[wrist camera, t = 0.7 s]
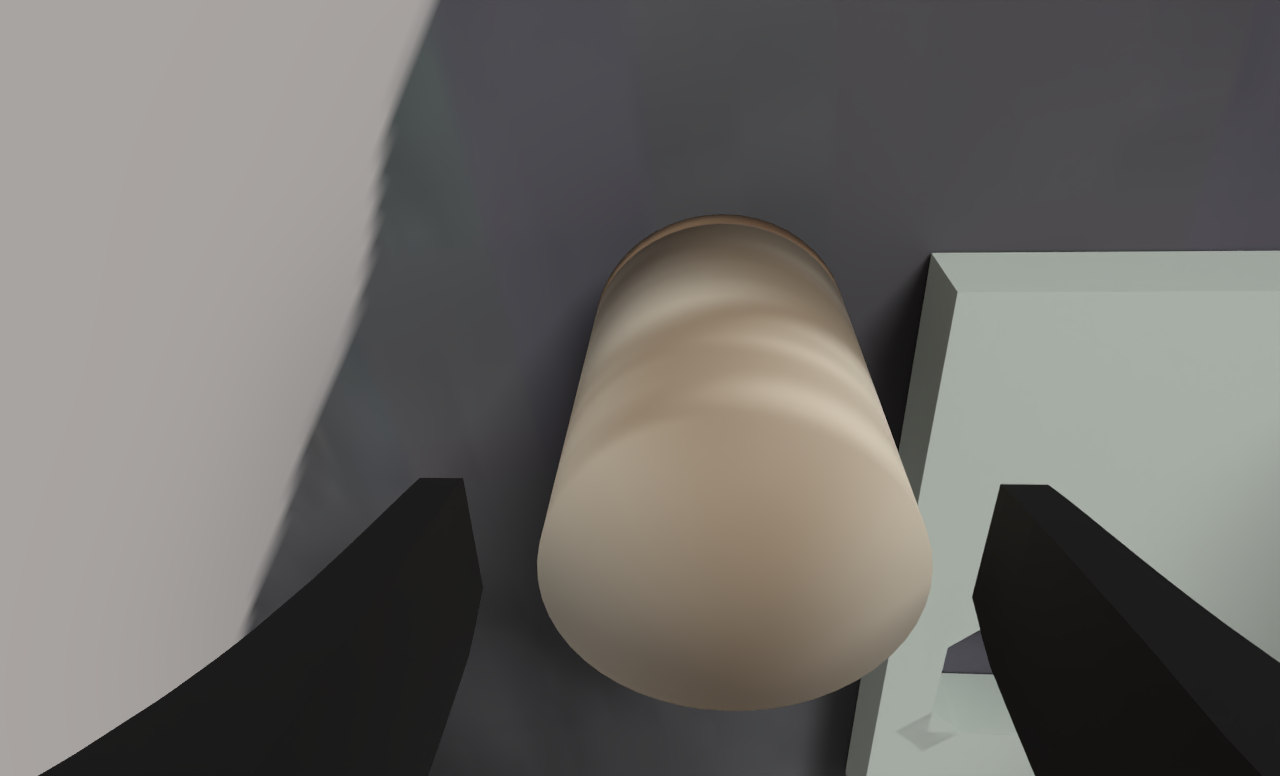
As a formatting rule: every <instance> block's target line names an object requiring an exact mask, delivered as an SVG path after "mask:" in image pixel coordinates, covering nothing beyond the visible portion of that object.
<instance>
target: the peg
mask: <svg viewBox="0 0 1280 776" xmlns="http://www.w3.org/2000/svg"><path fill="white" fill-rule="evenodd" d="M537 572H538V583H539V588H540V592H541V597H542V600H543V602H544V605H545V607H546V610H547V612H548V615H549V617H550V618H551V620H552V622H553V623H554V625H555V627H556V629H557V630H558V632H559V633H560V634H561V636H562V637H563V638H564V639H565V641H566V642H567V643H568V644H569V646H570V647H571V648H572V649H573V650H574V651H575V652H576V653H577V654H578V655H579V656H581V657H582V658H583V659H584V660H585V661H586V662H587V663H589V664H590V665H591V666H593V667H594V668H595V669H597V670H598V671H599V672H601V673H602V674H604V675H605V676H607V677H609V678H610V679H612V680H614V681H615V682H617V683H619V684H621V685H623V686H625V687H627V688H629V689H632V690H634V691H636V692H638V693H641V694H643V695H646V696H649V697H652V698H655V699H658V700H661V701H665V702H669V703H673V704H677V705H681V706H686V707H692V708H699V709H706V710H720V711H752V710H762V709H772V708H778V707H783V706H789V705H794V704H798V703H801V702H805V701H809V700H812V699H816V698H819V697H821V696H824V695H826V694H829V693H832V692H834V691H837V690H839V689H841V688H843V687H845V686H847V685H849V684H851V683H853V682H855V681H857V680H858V679H860V678H861V677H863V676H865V675H866V674H868V673H869V672H871V671H872V670H874V669H875V668H876V667H878V666H879V665H880V664H881V663H883V662H884V661H885V660H886V659H887V658H889V657H890V656H891V655H892V654H893V653H894V652H895V651H896V650H897V649H898V648H899V646H900V645H901V644H902V643H903V642H904V641H905V640H906V638H907V637H908V636H909V634H910V633H911V631H912V630H913V629H914V627H915V626H916V624H917V622H918V620H919V618H920V616H921V614H922V612H923V610H924V608H925V605H926V602H927V599H928V596H929V592H930V589H931V581H932V573H933V562H932V549H931V545H930V541H929V537H928V533H927V530H926V527H925V524H924V521H923V519H922V516H921V513H920V510H919V508H918V505H917V502H916V499H915V497H914V494H913V491H912V488H911V486H910V483H909V480H908V478H907V475H906V472H905V469H904V467H903V464H902V461H901V458H900V456H899V453H898V450H897V447H896V445H895V442H894V439H893V437H892V434H891V431H890V428H889V426H888V423H887V420H886V417H885V415H884V412H883V409H882V406H881V404H880V401H879V398H878V395H877V393H876V390H875V387H874V385H873V382H872V379H871V376H870V374H869V371H868V368H867V365H866V363H865V360H864V357H863V354H862V352H861V349H860V346H859V344H858V341H857V338H856V335H855V333H854V330H853V327H852V324H851V322H850V319H849V316H848V313H847V311H846V308H845V305H844V303H843V300H842V297H841V294H840V292H839V289H838V287H837V284H836V282H835V280H834V278H833V276H832V274H831V272H830V271H829V269H828V268H827V266H826V264H825V263H824V262H823V261H822V259H821V258H820V257H819V256H818V255H817V254H816V252H815V251H814V250H813V249H811V248H810V247H809V246H808V245H807V244H806V243H805V242H803V241H802V240H801V239H799V238H798V237H796V236H795V235H793V234H792V233H790V232H789V231H787V230H785V229H783V228H781V227H778V226H776V225H774V224H772V223H769V222H766V221H763V220H760V219H756V218H751V217H746V216H740V215H725V214H719V215H705V216H699V217H694V218H689V219H685V220H682V221H679V222H676V223H673V224H670V225H668V226H666V227H664V228H662V229H660V230H658V231H656V232H654V233H653V234H651V235H650V236H648V237H647V238H645V239H643V240H642V241H641V242H639V243H638V244H637V245H636V246H635V247H634V248H632V249H631V250H630V251H629V252H628V253H627V254H626V255H625V256H624V258H623V259H622V260H621V261H620V262H619V263H618V265H617V266H616V268H615V269H614V271H613V272H612V274H611V275H610V277H609V279H608V281H607V283H606V285H605V287H604V289H603V292H602V295H601V298H600V301H599V305H598V309H597V313H596V317H595V321H594V325H593V329H592V333H591V337H590V341H589V345H588V349H587V353H586V357H585V361H584V365H583V369H582V373H581V377H580V381H579V385H578V390H577V394H576V398H575V402H574V406H573V410H572V414H571V418H570V422H569V426H568V430H567V434H566V438H565V442H564V446H563V450H562V454H561V458H560V462H559V466H558V470H557V474H556V478H555V482H554V486H553V491H552V495H551V499H550V503H549V507H548V511H547V515H546V519H545V523H544V527H543V531H542V535H541V539H540V543H539V551H538V558H537Z"/></svg>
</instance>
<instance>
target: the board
mask: <svg viewBox="0 0 1280 776" xmlns="http://www.w3.org/2000/svg"><path fill="white" fill-rule="evenodd" d="M898 453H899V456H900V458H901V461H902V464H903V467H904V469H905V472H906V475H907V478H908V480H909V483H910V486H911V488H912V491H913V494H914V497H915V499H916V502H917V505H918V508H919V510H920V513H921V516H922V519H923V521H924V524H925V527H926V530H927V533H928V537H929V541H930V545H931V549H932V562H933V573H932V581H931V589H930V592H929V596H928V599H927V602H926V605H925V608H924V610H923V612H922V614H921V616H920V618H919V620H918V622H917V624H916V626H915V627H914V629H913V630H912V631H911V633H910V634H909V636H908V637H907V638H906V640H905V641H904V642H903V643H902V644H901V645H900V646H899V648H898V649H897V650H896V651H895V652H894V653H893V654H892V655H891V656H890V657H889V658H887V659H886V660H885V661H884V662H883V663H881V664H880V665H879V666H878V667H876V668H875V669H874V670H872V671H871V672H869V673H868V674H866V675H865V676H863V677H861V681H860V687H859V693H858V699H857V705H856V711H855V717H854V723H853V729H852V735H851V741H850V747H849V753H848V760H847V766H846V776H1035V775H1034V773H1033V770H1032V768H1031V765H1030V763H1029V761H1028V758H1027V756H1026V753H1025V751H1024V749H1023V746H1022V744H1021V741H1020V739H1019V737H1018V734H1017V732H1016V729H1015V727H1014V725H1013V722H1012V720H1011V717H1010V715H1009V712H1008V710H1007V707H1006V705H1005V702H1004V700H1003V697H1002V695H1001V693H1000V690H999V688H998V685H997V683H996V680H995V677H994V675H989V674H955V673H942V669H943V665H944V661H945V656H946V652H947V648H948V647H950V646H951V645H953V644H955V643H957V642H959V641H960V640H962V639H964V638H966V637H968V636H969V635H971V634H973V633H975V632H977V631H978V630H980V627H979V623H978V619H977V615H976V611H975V607H974V603H973V599H972V595H973V591H974V587H975V583H976V579H977V575H978V571H979V567H980V563H981V559H982V555H983V551H984V547H985V543H986V539H987V535H988V531H989V527H990V523H991V519H992V516H993V512H994V508H995V504H996V500H997V496H998V492H999V488H1000V484H1035V485H1049V486H1051V487H1052V488H1054V489H1055V490H1056V491H1058V492H1059V493H1060V494H1062V495H1063V496H1064V497H1065V498H1067V499H1068V500H1069V501H1071V502H1072V503H1073V504H1074V505H1076V506H1077V507H1078V508H1079V509H1081V510H1082V511H1083V512H1084V513H1086V514H1087V515H1088V516H1089V517H1090V518H1092V519H1093V520H1094V521H1095V522H1097V523H1098V524H1099V525H1100V526H1102V527H1103V528H1104V529H1105V530H1106V531H1108V532H1109V533H1110V534H1111V535H1113V536H1114V537H1115V538H1116V539H1118V540H1119V541H1120V542H1121V543H1122V544H1124V545H1125V546H1126V547H1127V548H1129V549H1130V550H1131V551H1132V552H1134V553H1135V554H1136V555H1137V556H1139V557H1140V558H1141V559H1142V560H1144V561H1145V562H1146V563H1147V564H1149V565H1150V566H1151V567H1152V568H1154V569H1155V570H1156V571H1157V572H1159V573H1160V574H1161V575H1162V576H1164V577H1165V578H1166V579H1167V580H1169V581H1170V582H1171V583H1173V584H1174V585H1175V586H1176V587H1178V588H1179V589H1180V590H1182V591H1183V592H1184V593H1185V594H1187V595H1188V596H1189V597H1191V598H1192V599H1193V600H1195V601H1196V602H1197V603H1198V604H1200V605H1201V606H1202V607H1204V608H1205V609H1206V610H1208V611H1209V612H1210V613H1212V614H1213V615H1214V616H1216V617H1217V618H1218V619H1220V620H1221V621H1222V622H1224V623H1225V624H1226V625H1228V626H1229V627H1231V628H1232V629H1233V630H1235V631H1236V632H1238V633H1239V634H1240V635H1242V636H1243V637H1245V638H1246V639H1247V640H1249V641H1250V642H1252V643H1253V644H1254V645H1256V646H1257V647H1259V648H1260V649H1261V650H1263V651H1264V652H1266V653H1267V654H1268V655H1270V656H1271V657H1273V658H1274V659H1276V660H1277V661H1278V662H1280V251H1168V252H1008V253H931V259H930V265H929V271H928V277H927V283H926V289H925V295H924V301H923V307H922V313H921V319H920V325H919V332H918V338H917V344H916V350H915V356H914V362H913V368H912V374H911V380H910V386H909V392H908V398H907V404H906V410H905V416H904V422H903V428H902V434H901V440H900V446H899V452H898Z"/></svg>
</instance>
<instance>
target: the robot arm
mask: <svg viewBox="0 0 1280 776" xmlns="http://www.w3.org/2000/svg"><path fill="white" fill-rule="evenodd" d="M482 589H483V586H482V580H481V575H480V569H479V564H478V558H477V553H476V547H475V542H474V536H473V531H472V525H471V520H470V514H469V509H468V503H467V498H466V492H465V487H464V481H463V478H419V479H418V480H417V481H416V482H415V483H414V484H413V485H412V486H411V487H410V488H409V489H408V490H406V491H405V492H404V493H403V494H402V495H401V496H400V497H399V498H398V499H397V500H396V501H395V502H394V503H393V504H392V505H391V506H390V507H389V508H388V509H387V510H386V511H385V512H383V513H382V514H381V515H380V516H379V517H378V518H377V519H376V520H375V521H374V522H373V523H372V524H371V525H370V526H369V527H368V528H367V529H366V530H365V531H364V532H363V533H362V534H361V535H360V536H359V537H358V538H357V539H355V540H354V541H353V542H352V543H351V544H350V545H349V546H348V547H347V548H346V549H345V550H344V551H343V552H342V553H341V554H340V555H338V556H337V557H336V558H335V559H334V560H333V561H332V562H331V563H330V564H329V565H328V566H327V567H326V568H324V569H323V570H322V571H321V572H320V573H319V574H318V575H317V576H316V577H315V578H314V579H313V580H311V581H310V582H309V583H308V584H307V585H306V586H304V587H303V588H302V589H301V590H300V591H299V592H297V593H296V594H295V595H294V596H293V597H292V598H290V599H289V600H288V601H287V602H286V603H284V604H283V605H282V606H281V607H280V608H279V609H277V610H276V611H275V612H274V613H273V614H272V615H270V616H269V617H268V618H267V619H266V620H265V621H263V622H262V623H261V624H260V625H259V626H257V627H256V628H255V629H254V630H253V631H251V632H250V633H249V634H248V635H246V636H245V637H244V638H243V639H241V640H240V641H239V642H238V643H236V644H235V645H234V646H232V647H231V648H230V649H229V650H227V651H226V652H225V653H223V654H222V655H221V656H219V657H218V658H217V659H215V660H214V661H213V662H211V663H210V664H209V665H207V666H206V667H204V668H203V669H202V670H200V671H199V672H198V673H196V674H195V675H193V676H192V677H191V678H189V679H188V680H187V681H185V682H184V683H182V684H181V685H180V686H178V687H177V688H175V689H174V690H173V691H171V692H170V693H168V694H167V695H165V696H164V697H162V698H161V699H160V700H158V701H157V702H155V703H153V704H152V705H150V706H149V707H147V708H146V709H144V710H143V711H141V712H139V713H138V714H136V715H135V716H133V717H132V718H130V719H129V720H127V721H126V722H124V723H122V724H121V725H119V726H118V727H116V728H115V729H113V730H112V731H110V732H109V733H107V734H106V735H104V736H102V737H101V738H99V739H98V740H96V741H94V742H93V743H91V744H90V745H88V746H87V747H85V748H84V749H82V750H80V751H79V752H77V753H76V754H74V755H72V756H71V757H69V758H68V759H66V760H65V761H63V762H61V763H59V764H57V765H56V766H54V767H52V768H51V769H49V770H47V771H46V772H44V773H42V774H40V775H39V776H428V775H429V772H430V769H431V766H432V763H433V760H434V757H435V754H436V751H437V748H438V745H439V742H440V740H441V737H442V734H443V731H444V728H445V725H446V722H447V719H448V716H449V713H450V710H451V707H452V704H453V701H454V698H455V695H456V693H457V690H458V687H459V684H460V681H461V678H462V675H463V672H464V669H465V665H466V662H467V659H468V656H469V652H470V648H471V643H472V639H473V634H474V629H475V625H476V620H477V614H478V609H479V604H480V599H481V594H482ZM972 599H973V603H974V607H975V611H976V615H977V619H978V623H979V627H980V631H981V635H982V639H983V642H984V646H985V649H986V653H987V656H988V660H989V663H990V667H991V670H992V672H993V675H994V677H995V680H996V683H997V685H998V688H999V690H1000V693H1001V695H1002V697H1003V700H1004V702H1005V705H1006V707H1007V710H1008V712H1009V715H1010V717H1011V720H1012V722H1013V725H1014V727H1015V729H1016V732H1017V734H1018V737H1019V739H1020V741H1021V744H1022V746H1023V749H1024V751H1025V753H1026V756H1027V758H1028V761H1029V763H1030V765H1031V768H1032V770H1033V773H1034V775H1035V776H1280V662H1278V661H1277V660H1276V659H1274V658H1273V657H1271V656H1270V655H1268V654H1267V653H1266V652H1264V651H1263V650H1261V649H1260V648H1259V647H1257V646H1256V645H1254V644H1253V643H1252V642H1250V641H1249V640H1247V639H1246V638H1245V637H1243V636H1242V635H1240V634H1239V633H1238V632H1236V631H1235V630H1233V629H1232V628H1231V627H1229V626H1228V625H1226V624H1225V623H1224V622H1222V621H1221V620H1220V619H1218V618H1217V617H1216V616H1214V615H1213V614H1212V613H1210V612H1209V611H1208V610H1206V609H1205V608H1204V607H1202V606H1201V605H1200V604H1198V603H1197V602H1196V601H1195V600H1193V599H1192V598H1191V597H1189V596H1188V595H1187V594H1185V593H1184V592H1183V591H1182V590H1180V589H1179V588H1178V587H1176V586H1175V585H1174V584H1173V583H1171V582H1170V581H1169V580H1167V579H1166V578H1165V577H1164V576H1162V575H1161V574H1160V573H1159V572H1157V571H1156V570H1155V569H1154V568H1152V567H1151V566H1150V565H1149V564H1147V563H1146V562H1145V561H1144V560H1142V559H1141V558H1140V557H1139V556H1137V555H1136V554H1135V553H1134V552H1132V551H1131V550H1130V549H1129V548H1127V547H1126V546H1125V545H1124V544H1122V543H1121V542H1120V541H1119V540H1118V539H1116V538H1115V537H1114V536H1113V535H1111V534H1110V533H1109V532H1108V531H1106V530H1105V529H1104V528H1103V527H1102V526H1100V525H1099V524H1098V523H1097V522H1095V521H1094V520H1093V519H1092V518H1090V517H1089V516H1088V515H1087V514H1086V513H1084V512H1083V511H1082V510H1081V509H1079V508H1078V507H1077V506H1076V505H1074V504H1073V503H1072V502H1071V501H1069V500H1068V499H1067V498H1065V497H1064V496H1063V495H1062V494H1060V493H1059V492H1058V491H1056V490H1055V489H1054V488H1052V487H1051V486H1049V485H1035V484H1000V488H999V492H998V496H997V500H996V504H995V508H994V512H993V516H992V519H991V523H990V527H989V531H988V535H987V539H986V543H985V547H984V551H983V555H982V559H981V563H980V567H979V571H978V575H977V579H976V583H975V587H974V591H973V595H972Z"/></svg>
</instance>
